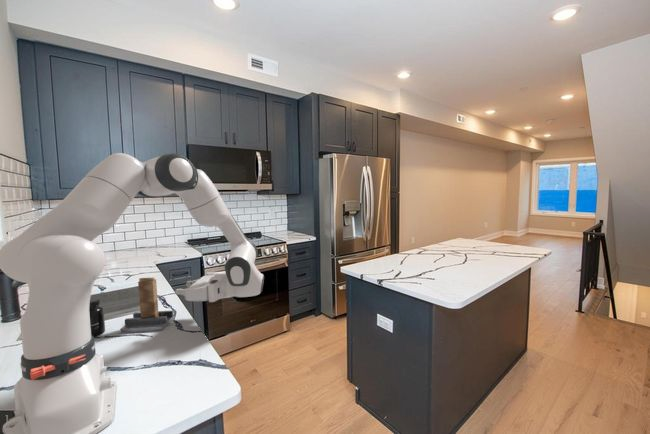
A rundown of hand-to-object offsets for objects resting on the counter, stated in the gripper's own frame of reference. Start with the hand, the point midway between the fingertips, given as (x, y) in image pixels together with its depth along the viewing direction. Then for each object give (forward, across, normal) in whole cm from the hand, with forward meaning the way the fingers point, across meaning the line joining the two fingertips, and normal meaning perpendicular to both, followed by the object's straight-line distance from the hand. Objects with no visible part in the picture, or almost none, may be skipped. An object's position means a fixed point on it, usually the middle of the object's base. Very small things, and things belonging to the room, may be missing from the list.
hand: (181, 287), depth 106 cm
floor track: (+12, 0, +13) cm, 18 cm away
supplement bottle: (+28, +5, +14) cm, 32 cm away
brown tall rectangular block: (+12, 0, +12) cm, 17 cm away
